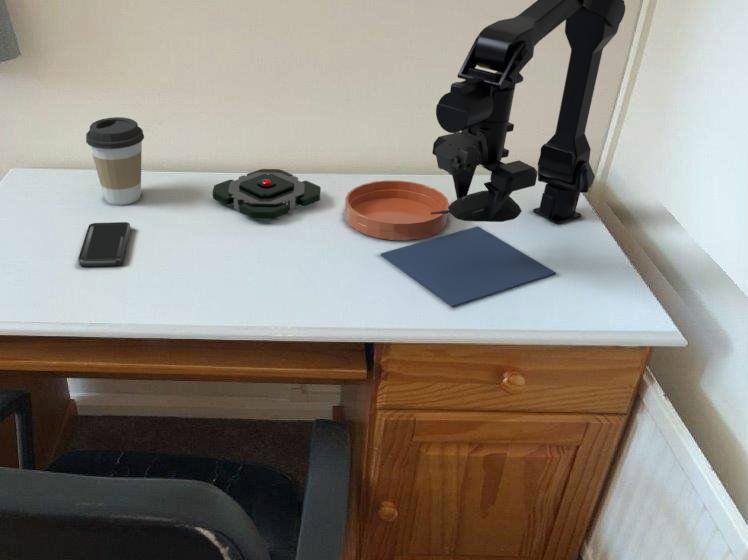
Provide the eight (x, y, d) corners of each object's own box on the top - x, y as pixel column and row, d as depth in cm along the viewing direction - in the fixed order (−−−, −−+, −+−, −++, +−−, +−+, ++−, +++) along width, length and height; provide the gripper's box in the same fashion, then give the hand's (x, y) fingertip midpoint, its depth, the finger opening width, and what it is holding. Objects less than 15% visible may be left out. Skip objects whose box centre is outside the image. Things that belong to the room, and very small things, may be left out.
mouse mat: (477, 228, 145) (477, 226, 145) (555, 274, 131) (556, 272, 131) (380, 255, 137) (380, 253, 137) (452, 307, 123) (452, 305, 123)
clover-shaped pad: (204, 200, 157) (203, 178, 154) (270, 176, 166) (270, 155, 163) (262, 229, 146) (261, 207, 143) (329, 202, 155) (330, 180, 152)
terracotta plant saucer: (406, 190, 159) (407, 173, 157) (467, 226, 146) (470, 209, 143) (325, 209, 152) (326, 192, 150) (382, 250, 139) (384, 232, 137)
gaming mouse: (427, 205, 132) (430, 183, 129) (514, 204, 132) (519, 183, 129) (433, 223, 127) (437, 201, 124) (524, 223, 127) (529, 201, 124)
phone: (77, 261, 135) (89, 222, 147) (78, 267, 135) (90, 228, 147) (122, 260, 135) (131, 221, 147) (123, 265, 136) (131, 227, 147)
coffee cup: (121, 182, 165) (112, 111, 156) (162, 194, 159) (155, 122, 150) (83, 201, 158) (71, 128, 148) (123, 214, 152) (114, 139, 143)
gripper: (411, 107, 122) (401, 199, 132) (490, 145, 109) (473, 244, 119) (466, 96, 126) (453, 186, 136) (549, 131, 113) (528, 228, 123)
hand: (474, 210), depth 128 cm, fingers closed on gaming mouse, 7 cm apart
